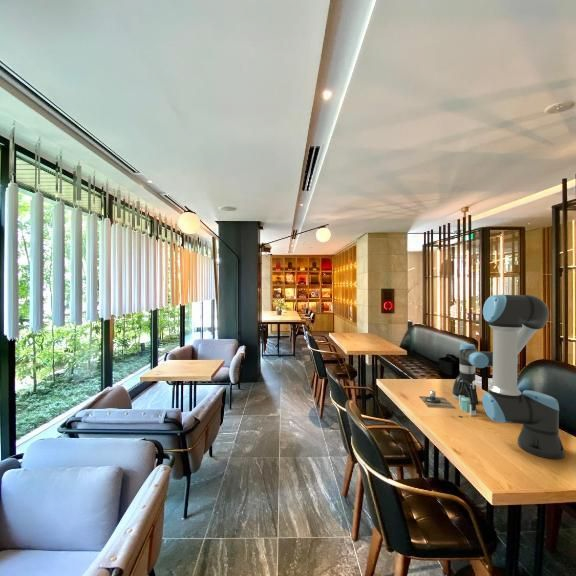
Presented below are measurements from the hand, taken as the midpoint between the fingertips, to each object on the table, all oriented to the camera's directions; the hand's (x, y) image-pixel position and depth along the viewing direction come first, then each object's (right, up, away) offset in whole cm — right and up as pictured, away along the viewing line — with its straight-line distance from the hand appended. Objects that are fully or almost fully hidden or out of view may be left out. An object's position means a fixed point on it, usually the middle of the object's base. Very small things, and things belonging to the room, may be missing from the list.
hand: (467, 411), depth 167 cm
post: (-13, +1, +14) cm, 18 cm away
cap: (0, 0, 0) cm, 0 cm away
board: (-11, 0, +11) cm, 16 cm away
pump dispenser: (+7, -1, +17) cm, 19 cm away
